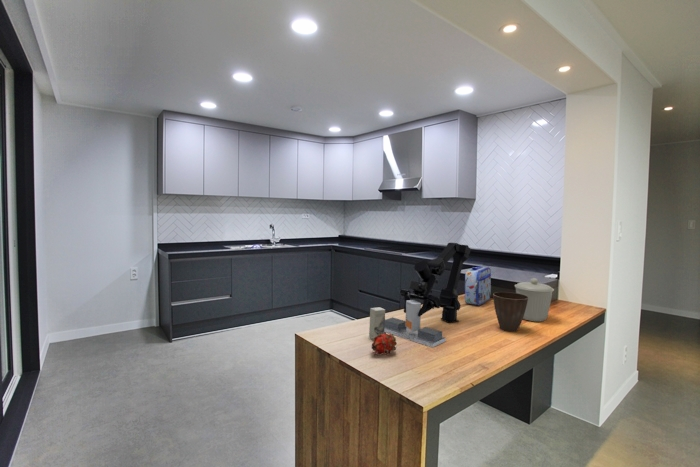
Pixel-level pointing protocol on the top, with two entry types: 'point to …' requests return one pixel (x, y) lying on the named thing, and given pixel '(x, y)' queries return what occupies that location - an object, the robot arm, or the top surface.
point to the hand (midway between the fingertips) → (411, 314)
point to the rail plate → (414, 333)
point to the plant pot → (509, 309)
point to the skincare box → (412, 315)
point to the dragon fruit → (384, 343)
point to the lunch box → (477, 285)
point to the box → (376, 322)
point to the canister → (535, 299)
